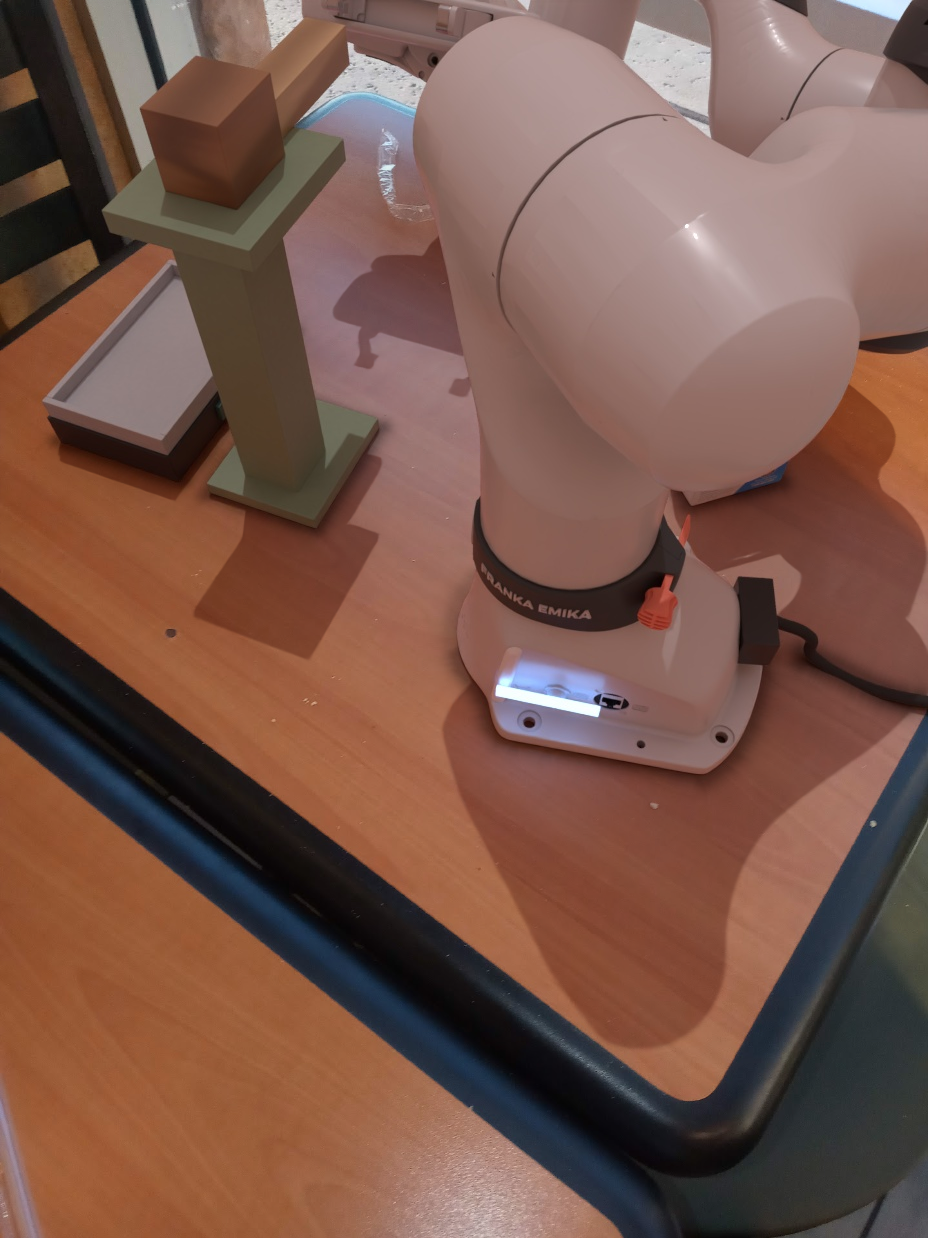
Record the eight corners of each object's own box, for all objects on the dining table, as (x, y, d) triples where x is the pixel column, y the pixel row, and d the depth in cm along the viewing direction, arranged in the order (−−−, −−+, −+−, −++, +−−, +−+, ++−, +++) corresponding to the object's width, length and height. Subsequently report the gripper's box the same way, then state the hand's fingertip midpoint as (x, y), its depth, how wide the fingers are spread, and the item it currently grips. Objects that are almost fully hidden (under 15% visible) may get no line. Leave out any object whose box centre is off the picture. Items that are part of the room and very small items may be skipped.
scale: (295, 332, 86) (286, 289, 82) (182, 483, 76) (166, 444, 72) (182, 299, 88) (168, 256, 84) (60, 441, 79) (37, 401, 75)
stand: (379, 427, 79) (343, 137, 57) (316, 529, 74) (248, 250, 52) (278, 396, 82) (206, 105, 59) (209, 492, 76) (101, 210, 54)
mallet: (363, 67, 62) (355, -16, 57) (237, 210, 54) (216, 126, 49) (298, 52, 63) (285, -30, 58) (164, 191, 55) (138, 107, 50)
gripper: (556, 96, 78) (509, 83, 66) (343, 49, 82) (264, 30, 71) (575, 9, 75) (528, -20, 63) (352, -35, 79) (270, -69, 67)
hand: (386, 6), depth 67 cm, fingers open, 8 cm apart
